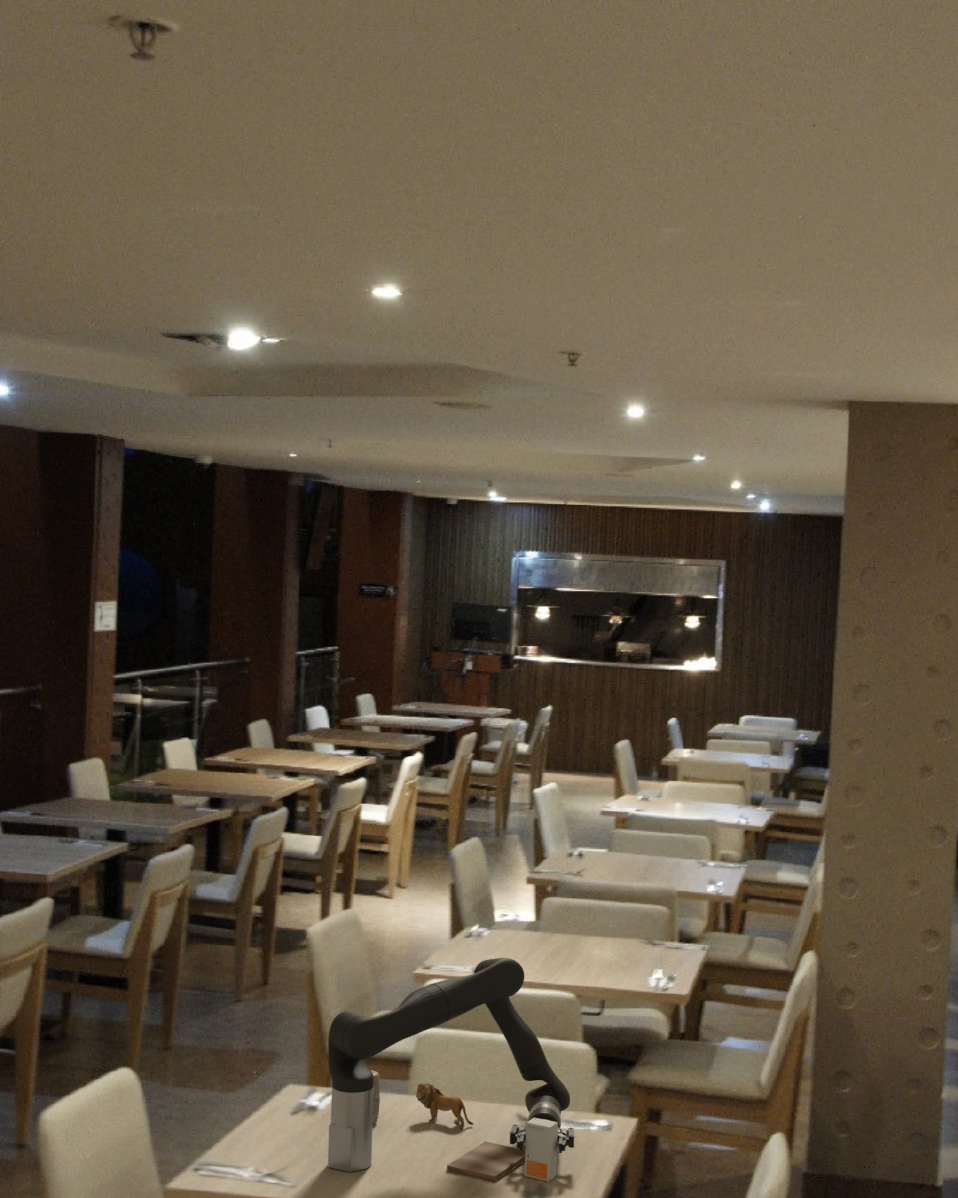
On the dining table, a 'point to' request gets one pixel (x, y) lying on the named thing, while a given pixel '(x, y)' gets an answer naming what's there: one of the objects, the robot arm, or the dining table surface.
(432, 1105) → the lion figurine
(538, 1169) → the skincare box
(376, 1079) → the carving
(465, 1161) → the walnut board
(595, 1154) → the dining table surface
